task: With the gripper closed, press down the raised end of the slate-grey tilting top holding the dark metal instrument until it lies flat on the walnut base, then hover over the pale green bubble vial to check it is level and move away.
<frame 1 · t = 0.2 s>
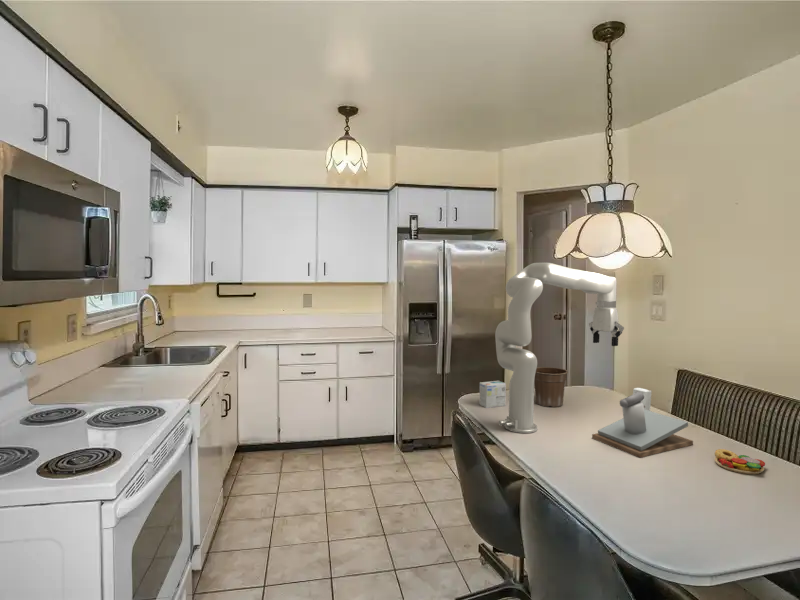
hand: (605, 344, 199), 31 cm above the table, tool pointing down, fingers open, 9 cm apart
skincare box: (640, 417, 198), on the table
walnut base: (641, 441, 169), on the table
light bulb box: (492, 405, 215), on the table
tilting top: (640, 411, 168), point 11 cm above the table, hinge at 12.0°
toy food set: (739, 467, 147), on the table
plant pot: (548, 404, 217), on the table
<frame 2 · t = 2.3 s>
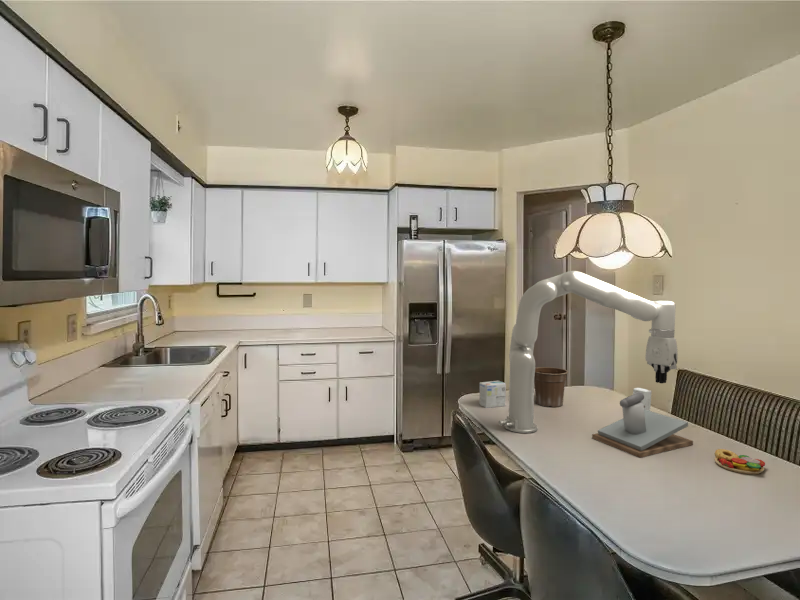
hand: (660, 382, 172), 21 cm above the table, tool pointing down, fingers closed
nothing on the table moved.
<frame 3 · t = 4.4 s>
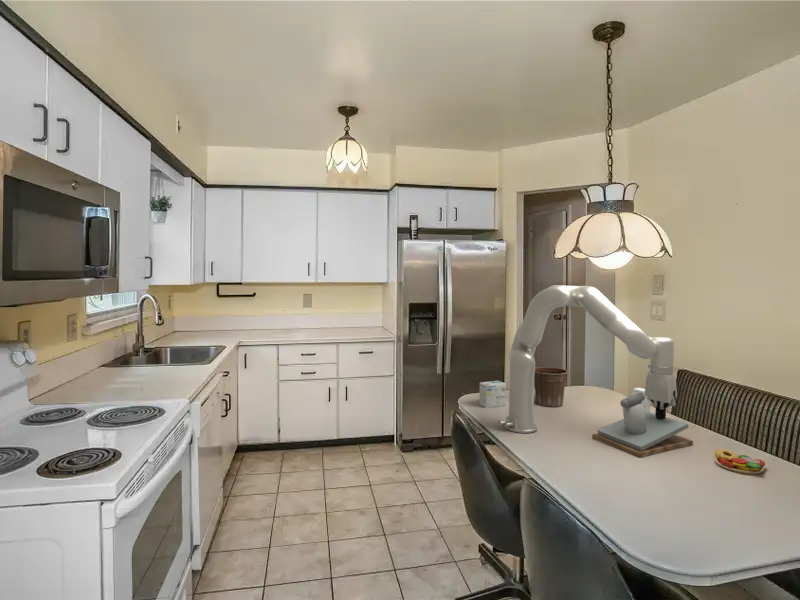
hand: (660, 418, 172), 7 cm above the table, tool pointing down, fingers closed
tilting top: (640, 412, 168), point 11 cm above the table, hinge at 10.5°, touching gripper
everything else where it was.
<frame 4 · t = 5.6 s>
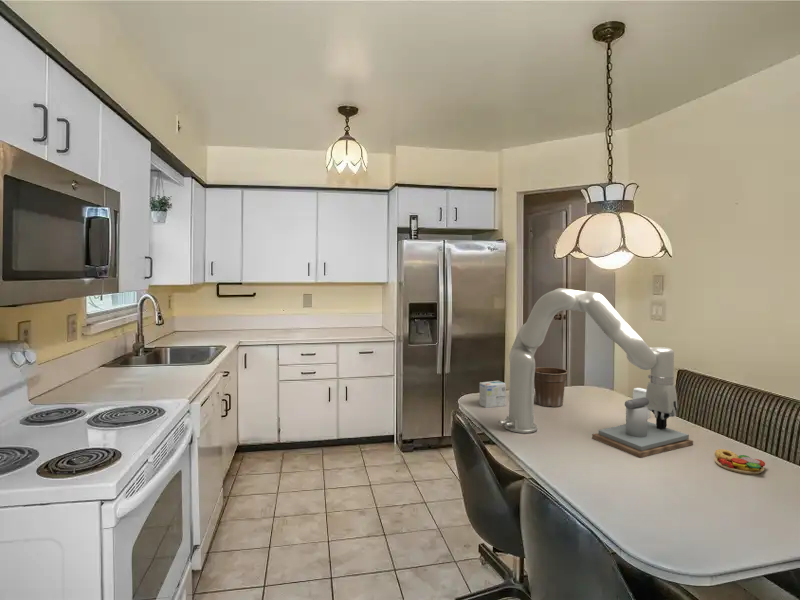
hand: (661, 428, 173), 3 cm above the table, tool pointing down, fingers closed
tilting top: (643, 417, 168), point 9 cm above the table, hinge at 1.1°, touching gripper
everything else where it was.
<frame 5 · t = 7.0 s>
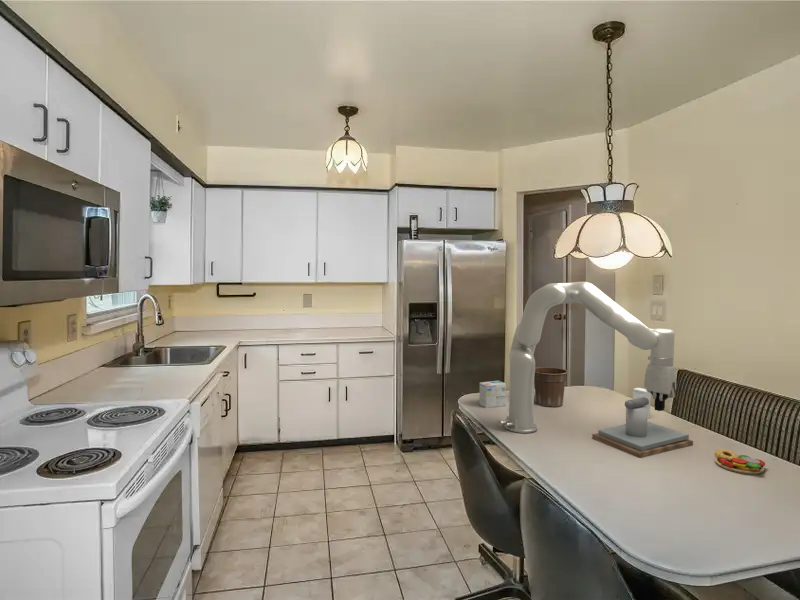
hand: (659, 410, 172), 11 cm above the table, tool pointing down, fingers closed
tilting top: (643, 417, 168), point 9 cm above the table, hinge at 1.0°
everything else where it was.
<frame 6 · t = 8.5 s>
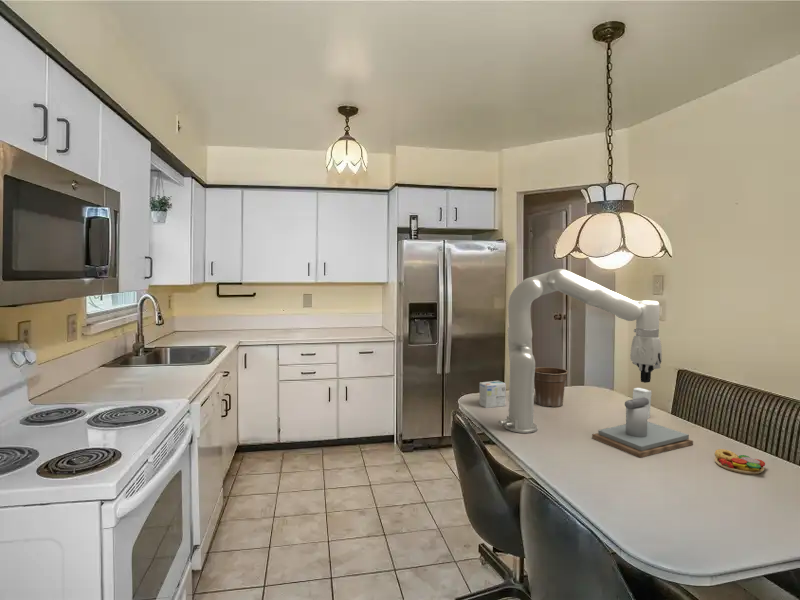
hand: (645, 381, 172), 21 cm above the table, tool pointing down, fingers closed
nothing on the table moved.
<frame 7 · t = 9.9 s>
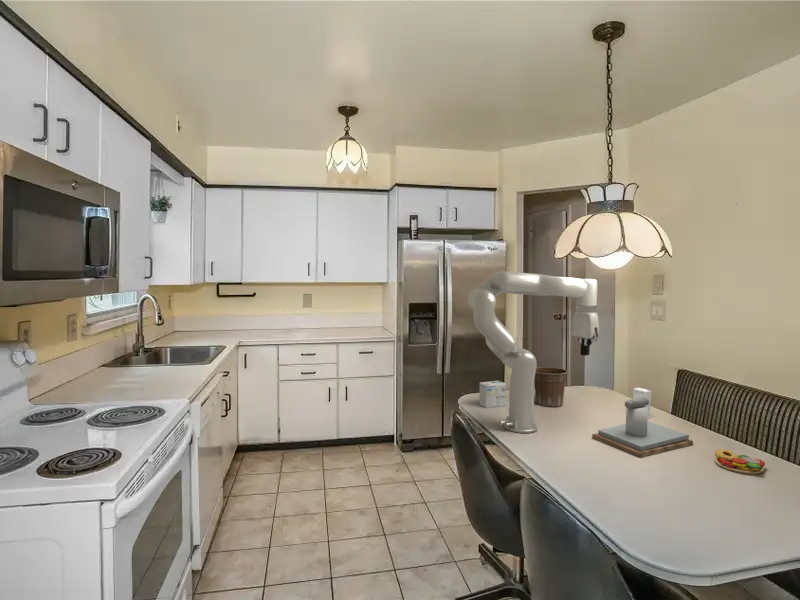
hand: (584, 354, 184), 29 cm above the table, tool pointing down, fingers closed
nothing on the table moved.
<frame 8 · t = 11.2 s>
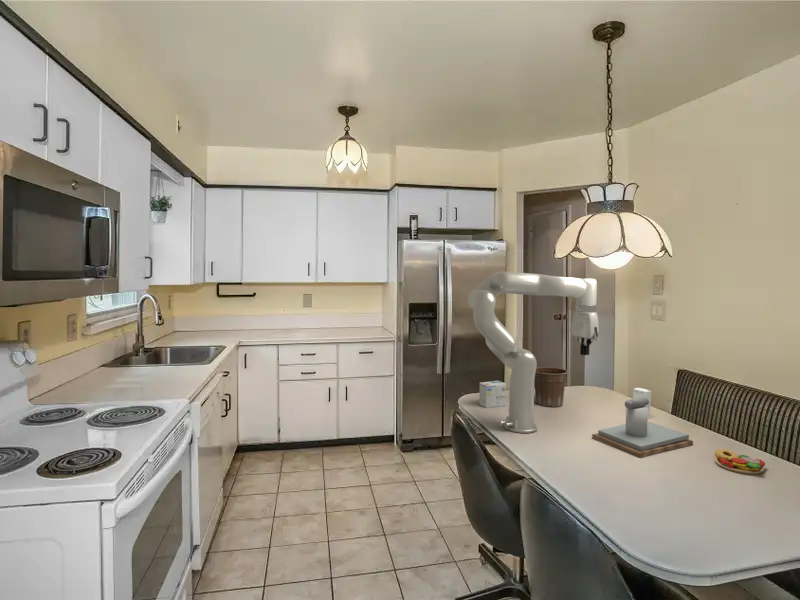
hand: (584, 354, 184), 29 cm above the table, tool pointing down, fingers closed
nothing on the table moved.
at the end: tilting top at +1° (first picture: +12°); toy food set moved 0.5 cm from its start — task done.
